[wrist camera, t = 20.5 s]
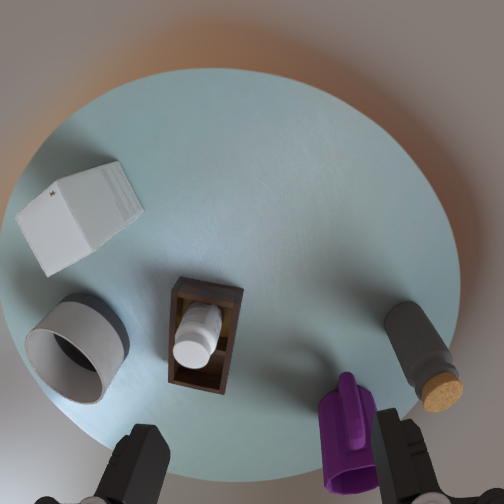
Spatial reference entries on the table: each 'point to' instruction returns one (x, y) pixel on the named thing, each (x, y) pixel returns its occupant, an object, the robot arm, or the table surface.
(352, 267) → the table surface
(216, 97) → the table surface
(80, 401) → the planter
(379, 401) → the table surface
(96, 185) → the white packaging box
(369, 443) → the mug
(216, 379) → the divided wooden box
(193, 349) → the pill bottle
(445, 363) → the bottle
